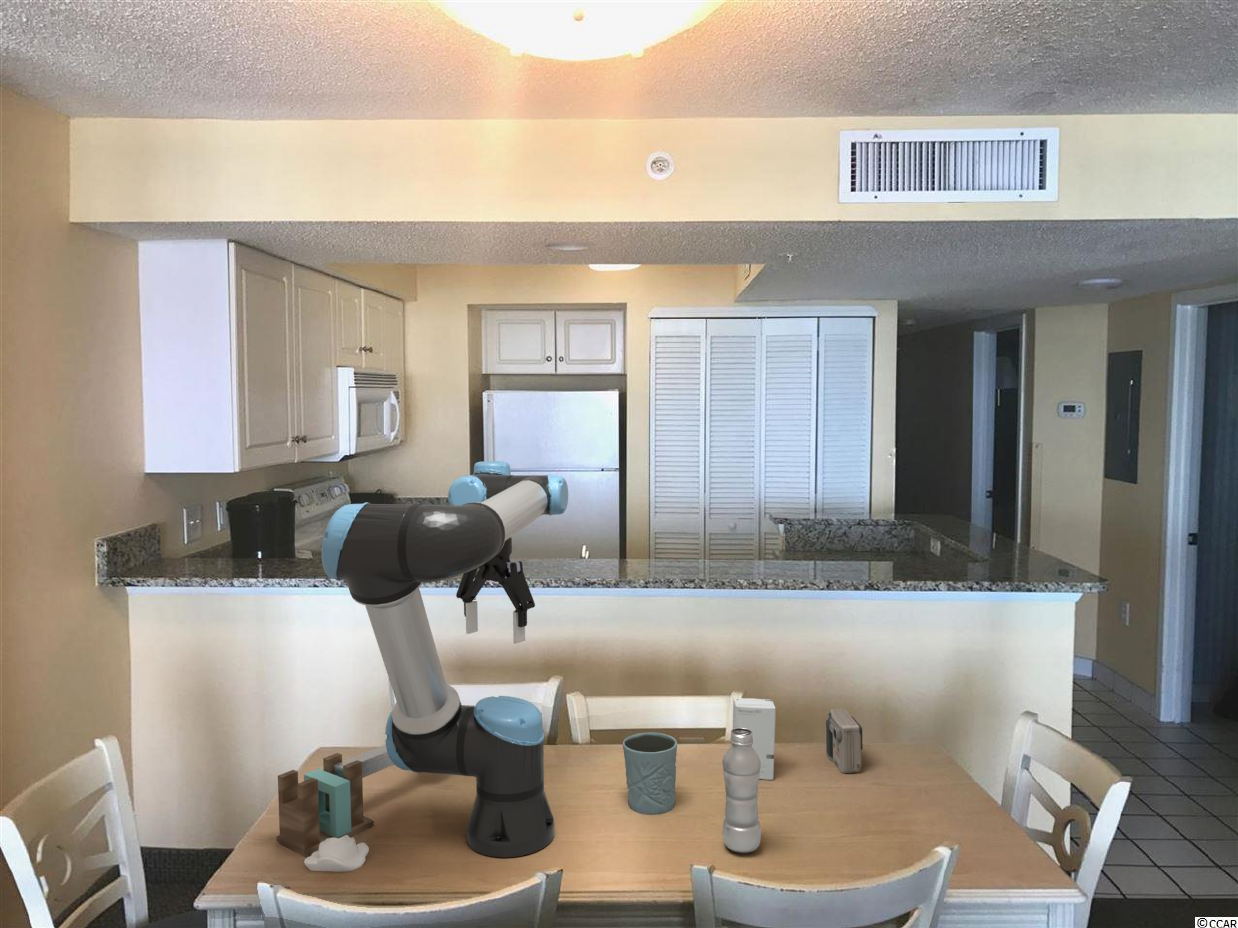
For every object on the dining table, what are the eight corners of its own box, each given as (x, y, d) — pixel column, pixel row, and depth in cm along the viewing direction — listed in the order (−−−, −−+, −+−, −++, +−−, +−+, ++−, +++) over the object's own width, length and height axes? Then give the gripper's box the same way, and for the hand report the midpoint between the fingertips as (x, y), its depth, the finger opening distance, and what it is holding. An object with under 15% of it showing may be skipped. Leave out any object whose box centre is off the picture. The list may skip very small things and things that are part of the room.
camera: (823, 752, 186) (824, 707, 185) (850, 752, 186) (851, 706, 185) (836, 775, 175) (837, 726, 174) (865, 775, 175) (866, 726, 174)
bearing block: (307, 857, 144) (305, 787, 143) (276, 842, 149) (274, 774, 148) (374, 825, 155) (372, 760, 154) (342, 812, 160) (341, 748, 159)
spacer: (336, 838, 148) (335, 786, 148) (305, 823, 154) (303, 774, 153) (351, 831, 151) (349, 780, 150) (320, 817, 156) (318, 768, 156)
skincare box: (733, 779, 173) (733, 706, 172) (731, 767, 179) (731, 696, 178) (775, 780, 172) (776, 707, 171) (772, 767, 178) (772, 697, 177)
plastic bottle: (732, 860, 142) (732, 741, 141) (716, 841, 148) (715, 726, 147) (768, 854, 144) (768, 736, 142) (750, 835, 150) (750, 722, 149)
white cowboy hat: (314, 858, 136) (295, 834, 143) (315, 885, 136) (296, 860, 144) (376, 838, 142) (355, 816, 149) (377, 865, 142) (355, 841, 150)
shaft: (348, 792, 153) (347, 764, 152) (331, 785, 156) (330, 757, 155) (454, 746, 173) (453, 722, 172) (436, 741, 176) (436, 717, 175)
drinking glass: (679, 816, 157) (679, 751, 157) (623, 817, 157) (623, 752, 157) (675, 791, 168) (675, 731, 167) (623, 792, 168) (622, 731, 167)
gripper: (551, 538, 175) (552, 642, 176) (464, 529, 190) (466, 625, 191) (526, 543, 169) (527, 650, 170) (438, 533, 184) (440, 632, 185)
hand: (495, 637), depth 181 cm, fingers open, 13 cm apart
